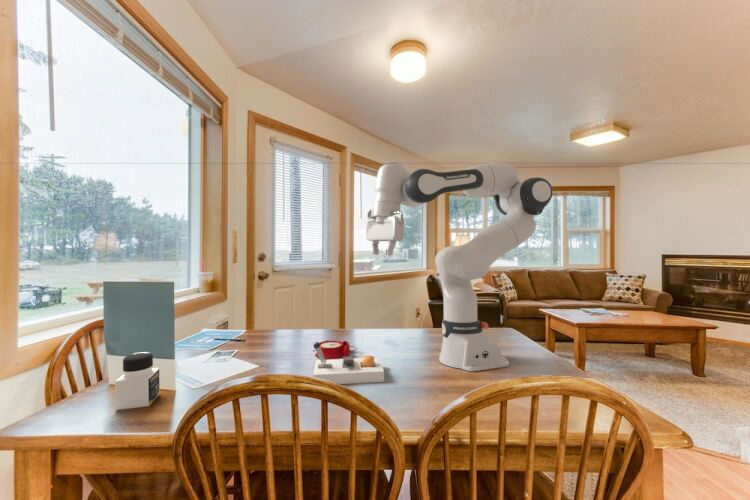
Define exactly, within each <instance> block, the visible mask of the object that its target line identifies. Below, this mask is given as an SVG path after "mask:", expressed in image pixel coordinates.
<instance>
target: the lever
mask: <svg viewBox="0 0 750 500" xmlns="http://www.w3.org/2000/svg"><path fill="white" fill-rule="evenodd" d="M313 348H314V349H315V350H316V351H315V352H316V353H317V354H318V356H319V358H318V359H319V360H320V361H321V363H322V365H323V364H325V363H326V360H327V359H325V357H324V355H323V353H322V350H321V348H320V342H317V341H316V342H314V343H313Z"/></svg>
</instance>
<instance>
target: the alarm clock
mask: <svg viewBox="0 0 750 500" xmlns="http://www.w3.org/2000/svg"><path fill="white" fill-rule="evenodd" d="M319 343H320V348H321V350H322V353H323V355H324V357H325V360H331V359H342V358H343V357H350V353H351V352H355V351H356V350H357V347H356V346H353V345H352V346H351V345H350V343H349V342H348V341H347V340H343V342H342V341H340V340H325V341H321V342H319ZM351 348H355V349H352V350H350V349H351ZM312 351H313V352H315V355H314V356H316V358H318V359H320V358H319V356H318V354H317V351H316V349H315V350H312Z"/></svg>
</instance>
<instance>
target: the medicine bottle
mask: <svg viewBox="0 0 750 500" xmlns="http://www.w3.org/2000/svg"><path fill="white" fill-rule="evenodd" d="M153 357H154V355H153V354H152V353H151V352H148V351H144V352H143V351H142V352H141V351H140V352H134V353H131V354H128V355H127V356H125V357H124V358H123V359H122V375H121V376H120V377H119V378H117V379H116V380H115V382H114V390H115V392H114V394H115V395H114V399H115V402H114V403H115V404H114V407H115V408H114V409H115V411H120V410H121V411H122V410H129V409H139V408H146V407H150V405H152V403H153V402H154V401H155V400H156V399H157V398H158V396H159V395H160V368H159V367H154V359H153Z"/></svg>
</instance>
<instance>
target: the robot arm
mask: <svg viewBox="0 0 750 500" xmlns="http://www.w3.org/2000/svg"><path fill="white" fill-rule="evenodd" d="M374 191H375V197H374V199H373V204H372V205H373V206H372V207H371V209H369V210H368V211H367V213H366V219H367V221H366V229H365V231H366V232H365V233H366V234H365V237H366V240H367V241H369V242H370V241H371V248H372V255H377V256H378V255H379V254H380V249H379V244H380V242H387V244H388V245H387V247H386V248H387V249H385V255H386V256H390V257H392V256H394V255H393V254H394V250H395V247H396V245H397V242H402V241H404V238H405V227H406V226H405V219H404V214H403V213H402V211H401V205H403V206H407V207H408V208H409V207H410V208H416V207H419V206H421V205H424V204H425V203H429V202H432V201H433V200H435V199H436V198H438V197H439V196H441V195H442V194H443V195H444V194H450V193H456V192H463V194H465V196H467V197H469V198H485V197H489V196H493V199H494V201H495V207H496V209H497V211H498V212H499V213H500V214H502V215H504V216H503V218H501V219H498V220H497V221H495V222H493V223H492V224H490V225H489V226H486V227H485V228H483V229H482V230H480V231H478V233H477V234H476V235H475V236H474V237H473V238H472V239H471V240H470V241H468V242H466V243H464V244H461V245H449V246H446V247H444V248H442V249H441V250H439V251H438V252H437V253H436V255H435V258H434V264H435V267H436V269H437V271H438V275H439V280H440V284H441V291H442V297H443V298H442V299H443V317H442V322H441V332H442V333H441V334H442V343H441V349H440V354H439V357H438V362H440V363H442V365H445V366H448V367H451V368H456V369H460V370H461V369H462V370H464V371H468V372H477V371H484V370H491V369H499V368H506V367H509V366H510V362H509V360H508V359H507V357H505V356H503V354H502V350H501V347H500V344H499V343H498V342H497V340H495V339H493V337H491V336H490V335H489V334H488V333H487V332H485V331H483V330H487V329H488V328H489V323H487V322H485V321H481V320H479V319H478V296H477V294H476V292H475V289H474V287H473V284H472V280H473V281H474V280H477V279H481V278H483V277H485V276H486V275H487V273H488V272H489V270H490V267H491V266H492V265H493V264H494V263H495V262H496V261H497V260H498V259H500V258H501V257H503V256H504V255H506V254H507V253H509V252H511V251H513V250H514V249H516V248H517V247H519V246H521V245H522V244H523V243H525V242H526V241H527V240H528V239H529V238H530V237H531V236H532V235H533V234H534V233H535V231H536V228H537V223H536V220H535V219H534V218H535V216H539V215H540V214H542V213H543V212H544V209H545V207H546V206H548V204H549V203H550V202H551V201H552V200H551V199H552V198H553V187H552V184H551V183H550V182H549V181H548V180H547V179H546V178H543V177H530V178H527V179H524V180H522V181H521V180H520V179H519V178H518V172H517V169H516V168H515V166H514V165H512V164H511V163H507V162H490V163H482V164H477V165H474V166H470V167H467V168H465V169H464V170H454V171H446V172H441V171H440V172H439V171H434V170H432V169H428V168H420V169H417V170H415V171H413V172H412V173H411V172H410V171H408V170H407V169H406V168H405V167H404V166H403V165H402V164H401V163H399V162H388V163H385V164H383V165H382V166H380V167H379V169H378V171H377V174H376V180H375V187H374Z"/></svg>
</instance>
